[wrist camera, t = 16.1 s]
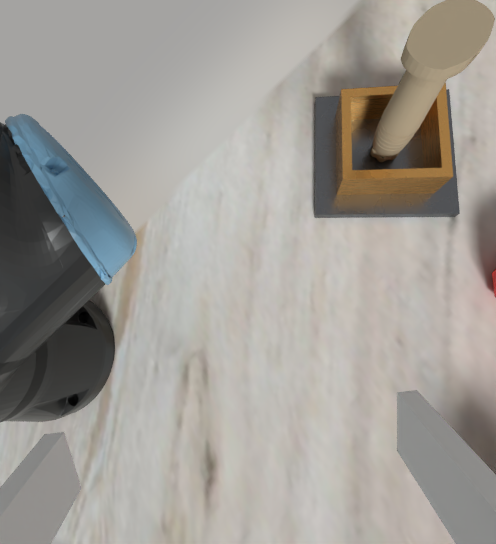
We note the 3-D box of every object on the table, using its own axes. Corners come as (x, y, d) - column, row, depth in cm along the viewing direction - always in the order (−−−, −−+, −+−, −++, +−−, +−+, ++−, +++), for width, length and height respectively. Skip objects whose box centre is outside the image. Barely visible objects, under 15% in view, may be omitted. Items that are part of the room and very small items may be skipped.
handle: (349, 157, 36) (392, 45, 22) (385, 122, 37) (452, -14, 22) (380, 182, 35) (447, 81, 21) (417, 145, 36) (509, 19, 21)
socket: (314, 217, 37) (319, 201, 32) (315, 103, 39) (318, 71, 35) (454, 216, 35) (482, 198, 30) (444, 95, 37) (468, 61, 32)
